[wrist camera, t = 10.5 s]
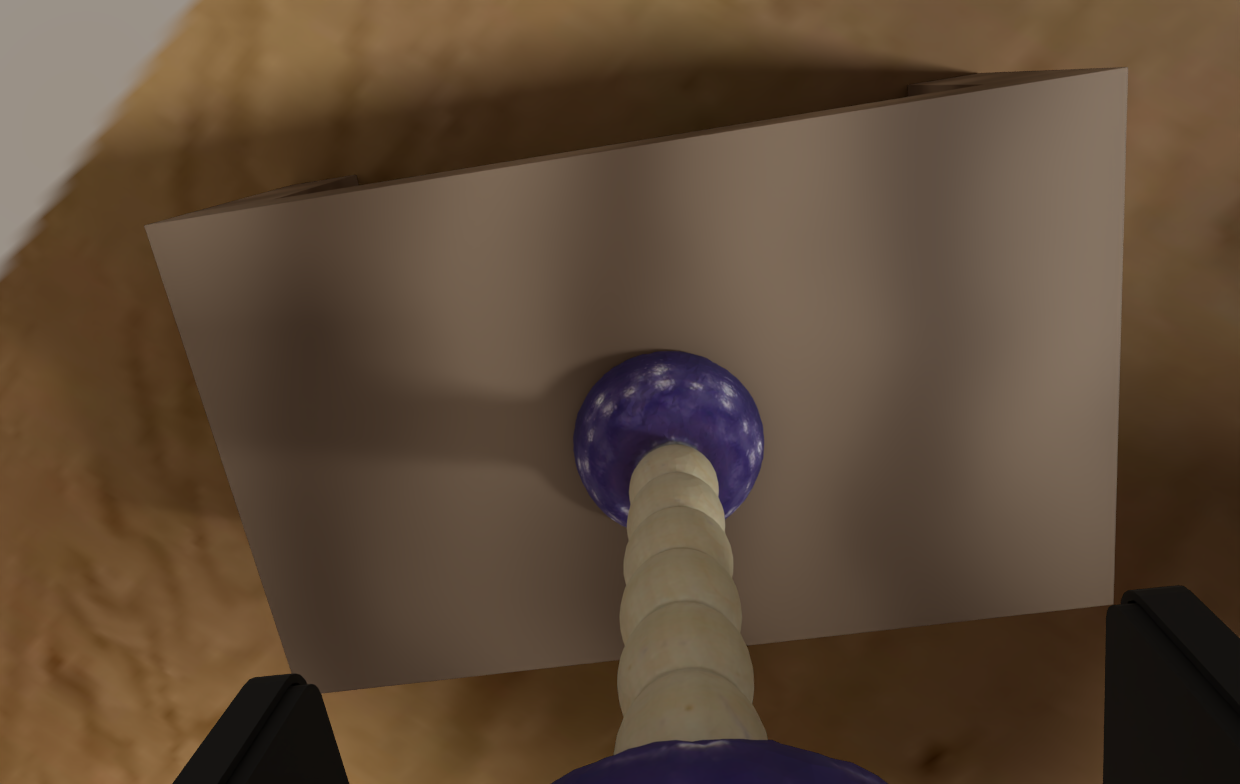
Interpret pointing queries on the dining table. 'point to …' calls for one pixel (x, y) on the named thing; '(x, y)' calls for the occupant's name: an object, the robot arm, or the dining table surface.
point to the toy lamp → (683, 577)
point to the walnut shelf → (688, 322)
